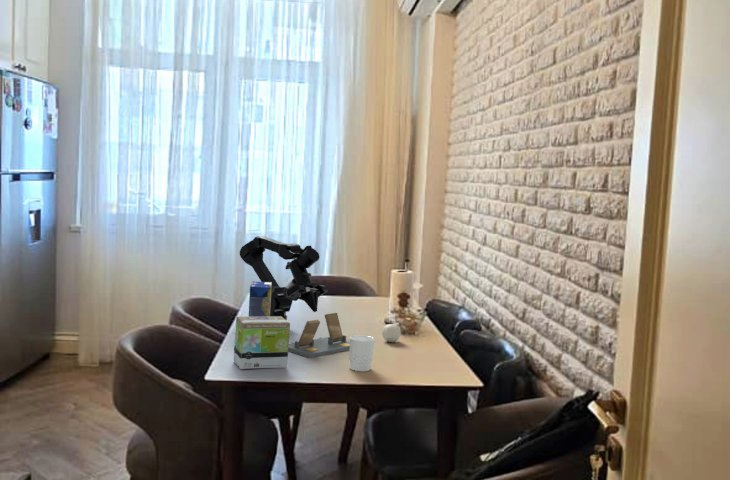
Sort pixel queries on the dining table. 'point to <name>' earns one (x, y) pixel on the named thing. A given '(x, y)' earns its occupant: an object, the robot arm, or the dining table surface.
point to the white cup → (361, 352)
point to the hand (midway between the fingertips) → (315, 311)
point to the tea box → (261, 342)
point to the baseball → (391, 333)
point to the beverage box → (260, 299)
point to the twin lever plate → (319, 347)
